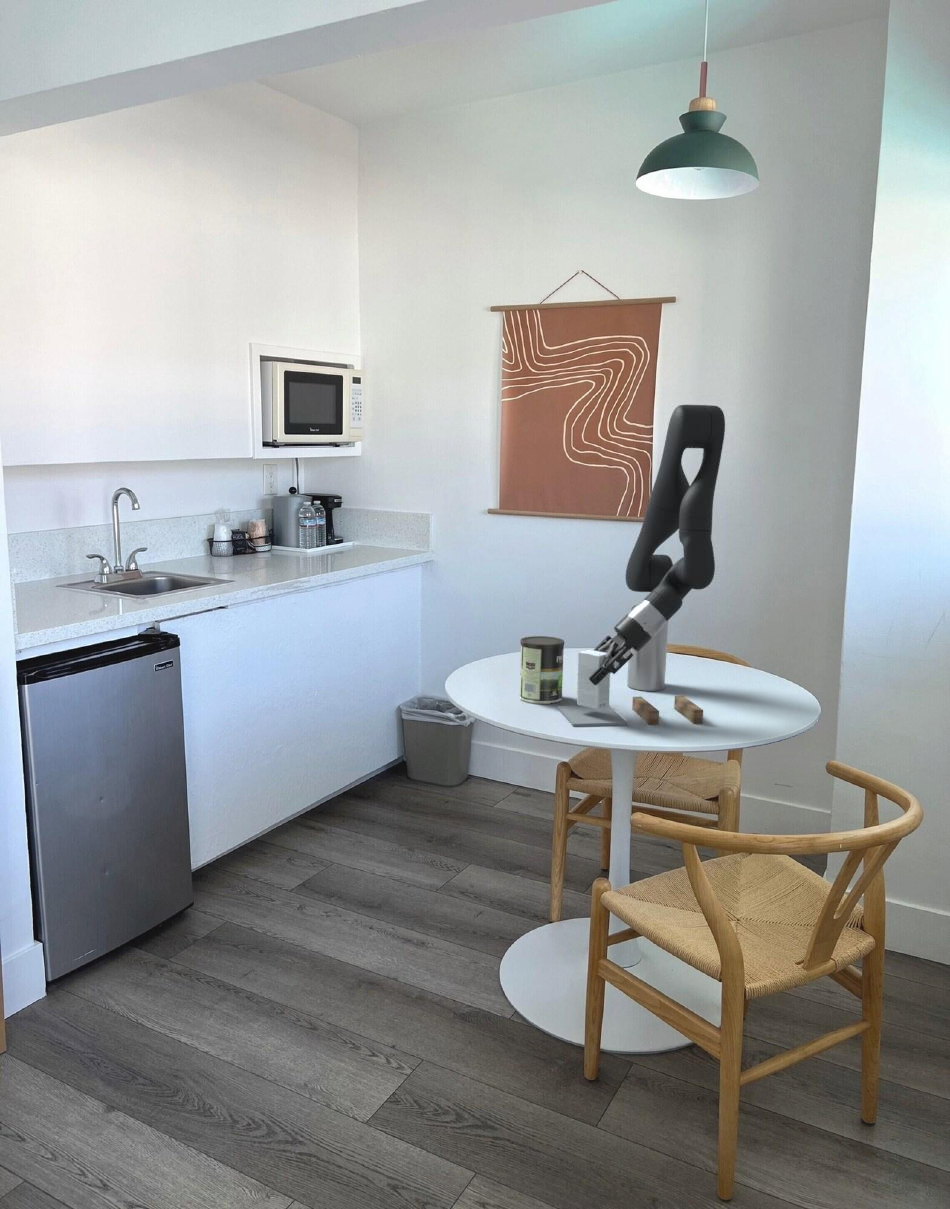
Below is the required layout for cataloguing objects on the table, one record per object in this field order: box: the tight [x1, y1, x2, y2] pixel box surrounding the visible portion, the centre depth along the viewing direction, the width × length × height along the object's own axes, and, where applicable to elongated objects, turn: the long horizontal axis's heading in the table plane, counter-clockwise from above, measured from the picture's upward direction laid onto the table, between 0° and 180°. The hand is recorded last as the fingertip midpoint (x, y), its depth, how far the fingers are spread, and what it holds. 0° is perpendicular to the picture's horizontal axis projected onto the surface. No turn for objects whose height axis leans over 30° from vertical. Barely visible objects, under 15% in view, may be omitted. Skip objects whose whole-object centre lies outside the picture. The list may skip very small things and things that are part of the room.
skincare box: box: [576, 649, 611, 709], centre depth 207 cm, size 6×4×12 cm
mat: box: [557, 705, 628, 728], centre depth 209 cm, size 14×12×1 cm
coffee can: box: [518, 635, 565, 705], centre depth 222 cm, size 10×10×14 cm
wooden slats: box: [631, 695, 704, 726], centre depth 210 cm, size 12×12×3 cm
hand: (587, 678), depth 207 cm, fingers closed on skincare box, 7 cm apart
